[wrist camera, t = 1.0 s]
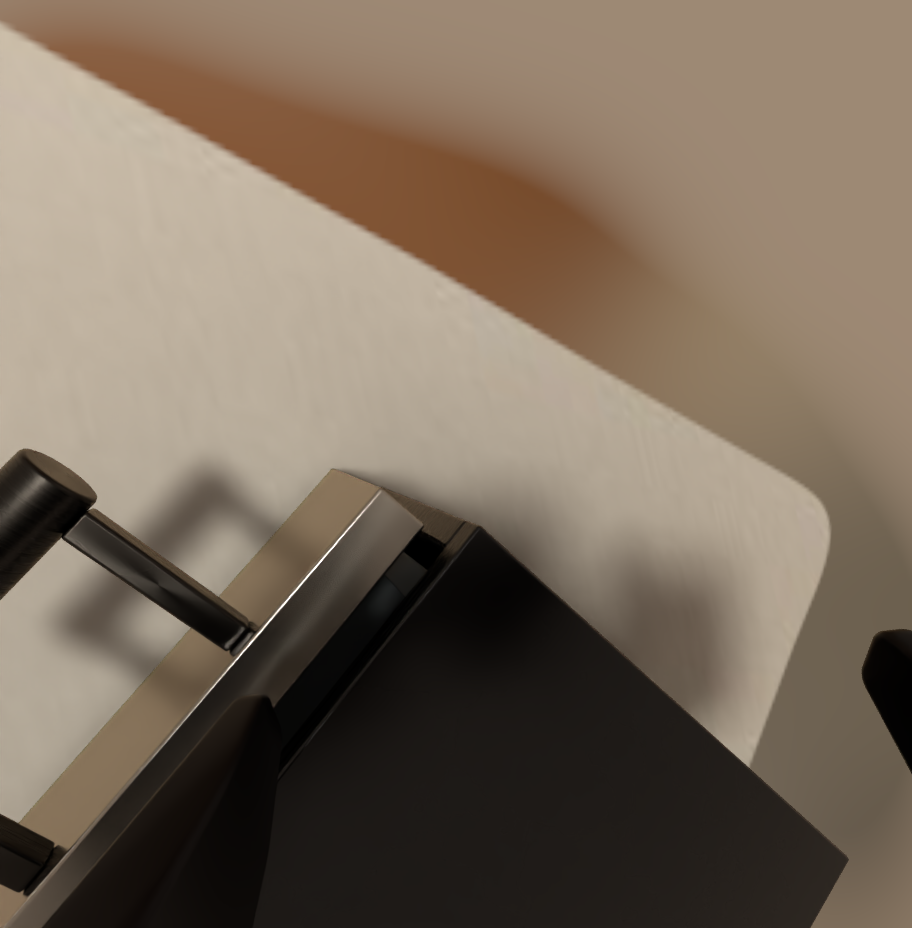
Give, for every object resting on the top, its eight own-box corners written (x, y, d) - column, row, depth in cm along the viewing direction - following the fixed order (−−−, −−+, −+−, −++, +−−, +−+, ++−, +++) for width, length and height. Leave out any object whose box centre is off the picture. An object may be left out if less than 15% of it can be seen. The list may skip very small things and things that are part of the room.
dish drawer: (-173, 731, 14) (-588, 1017, 7) (200, 354, 16) (160, 294, 9) (362, 1008, 19) (423, 1337, 12) (589, 686, 21) (749, 806, 14)
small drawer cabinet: (63, 855, 16) (-140, 1298, 8) (380, 485, 19) (479, 524, 10) (404, 1031, 20) (511, 1459, 12) (630, 702, 23) (850, 859, 14)
